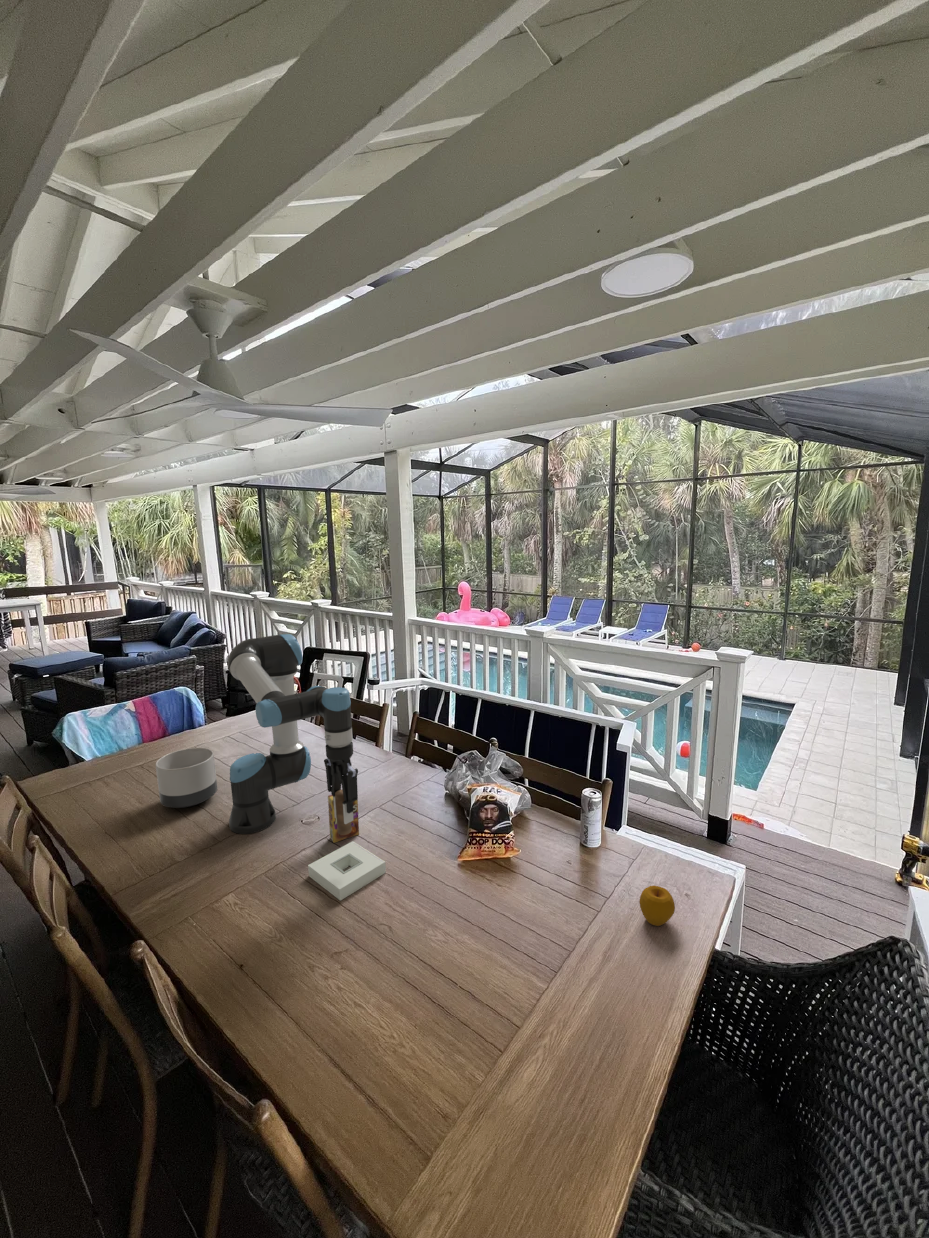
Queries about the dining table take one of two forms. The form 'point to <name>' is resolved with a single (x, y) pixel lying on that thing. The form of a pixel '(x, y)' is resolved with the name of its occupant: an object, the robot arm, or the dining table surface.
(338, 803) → the walnut peg
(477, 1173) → the dining table surface
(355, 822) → the candy box
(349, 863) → the socket board
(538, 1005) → the dining table surface
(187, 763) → the planter
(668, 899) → the apple
